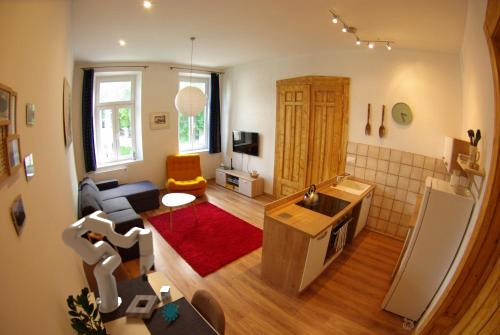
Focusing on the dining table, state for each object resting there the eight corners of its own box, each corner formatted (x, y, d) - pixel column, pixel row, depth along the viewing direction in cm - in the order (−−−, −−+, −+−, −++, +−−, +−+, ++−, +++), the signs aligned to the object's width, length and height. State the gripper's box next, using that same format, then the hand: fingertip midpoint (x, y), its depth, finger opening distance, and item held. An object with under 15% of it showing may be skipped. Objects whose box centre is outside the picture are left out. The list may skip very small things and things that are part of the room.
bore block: (126, 317, 151) (125, 312, 150) (137, 300, 165) (136, 295, 164) (149, 318, 151) (148, 312, 150) (158, 300, 165) (157, 295, 164)
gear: (167, 324, 145) (160, 307, 148) (162, 326, 148) (156, 310, 152) (183, 314, 154) (176, 298, 157) (178, 317, 157) (172, 301, 160)
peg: (161, 300, 165) (160, 290, 164) (163, 295, 170) (163, 286, 168) (168, 300, 165) (167, 291, 163) (170, 295, 169) (169, 286, 168)
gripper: (146, 242, 157) (148, 266, 161) (133, 258, 140) (135, 285, 144) (158, 242, 157) (160, 266, 161) (146, 259, 140) (148, 285, 144)
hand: (148, 275), depth 153 cm, fingers open, 9 cm apart
